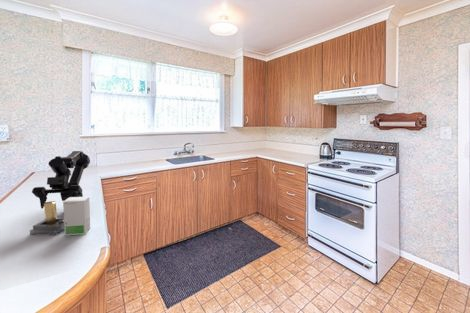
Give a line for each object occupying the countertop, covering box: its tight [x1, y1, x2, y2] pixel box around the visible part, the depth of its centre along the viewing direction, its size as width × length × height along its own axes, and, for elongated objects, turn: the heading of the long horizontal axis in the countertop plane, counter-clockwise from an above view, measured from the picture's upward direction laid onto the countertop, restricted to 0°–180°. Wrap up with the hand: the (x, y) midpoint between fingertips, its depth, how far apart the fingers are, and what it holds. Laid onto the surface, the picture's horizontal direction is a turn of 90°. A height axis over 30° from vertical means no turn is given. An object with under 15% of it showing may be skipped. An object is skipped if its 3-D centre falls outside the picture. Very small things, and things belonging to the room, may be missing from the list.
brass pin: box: [43, 200, 58, 225], centre depth 100 cm, size 4×4×13 cm
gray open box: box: [29, 217, 65, 236], centre depth 101 cm, size 12×9×5 cm
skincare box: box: [62, 196, 91, 237], centre depth 99 cm, size 8×7×16 cm
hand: (53, 207), depth 103 cm, fingers open, 9 cm apart
